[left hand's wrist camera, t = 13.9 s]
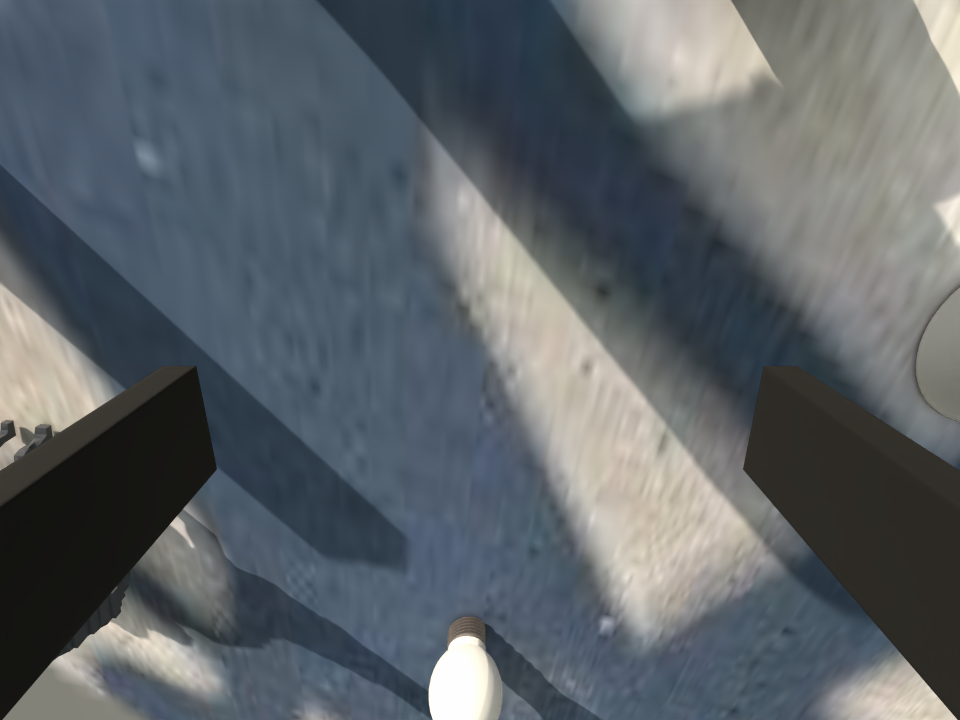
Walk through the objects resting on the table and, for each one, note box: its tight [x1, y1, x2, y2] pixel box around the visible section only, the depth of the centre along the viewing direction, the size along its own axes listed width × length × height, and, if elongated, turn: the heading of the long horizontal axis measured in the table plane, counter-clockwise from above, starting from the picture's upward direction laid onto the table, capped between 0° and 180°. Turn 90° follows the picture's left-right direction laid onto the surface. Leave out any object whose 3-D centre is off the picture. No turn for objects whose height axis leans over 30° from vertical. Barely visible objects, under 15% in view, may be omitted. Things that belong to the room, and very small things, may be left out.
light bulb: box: [429, 617, 503, 720], centre depth 50 cm, size 7×7×11 cm
